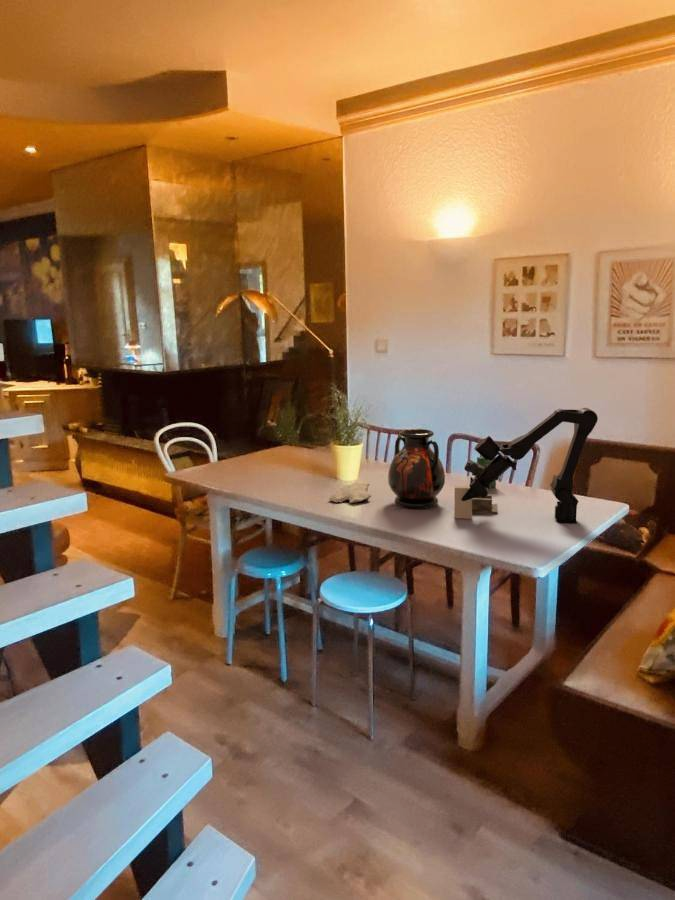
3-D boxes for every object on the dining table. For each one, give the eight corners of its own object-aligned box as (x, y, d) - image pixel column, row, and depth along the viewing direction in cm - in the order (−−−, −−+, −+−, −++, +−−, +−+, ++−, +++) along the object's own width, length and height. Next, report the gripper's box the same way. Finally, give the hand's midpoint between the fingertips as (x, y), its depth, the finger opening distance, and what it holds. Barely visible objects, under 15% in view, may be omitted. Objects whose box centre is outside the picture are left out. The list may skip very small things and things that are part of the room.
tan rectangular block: (471, 516, 236) (472, 486, 234) (471, 518, 234) (472, 488, 231) (454, 515, 238) (455, 485, 236) (454, 517, 235) (454, 487, 233)
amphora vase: (376, 505, 253) (375, 432, 247) (409, 493, 269) (409, 424, 263) (424, 515, 239) (424, 439, 233) (455, 502, 255) (456, 430, 249)
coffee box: (493, 486, 277) (493, 455, 274) (496, 487, 274) (497, 456, 271) (475, 488, 274) (476, 457, 272) (478, 489, 272) (479, 458, 269)
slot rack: (497, 506, 248) (497, 493, 248) (497, 514, 239) (497, 501, 238) (458, 504, 251) (459, 492, 250) (457, 512, 242) (458, 499, 241)
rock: (387, 496, 266) (358, 487, 276) (387, 485, 265) (358, 476, 274) (352, 512, 251) (323, 502, 261) (352, 501, 250) (323, 491, 259)
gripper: (478, 447, 239) (447, 476, 243) (478, 458, 221) (444, 489, 226) (500, 469, 239) (469, 498, 243) (502, 482, 221) (467, 512, 225)
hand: (462, 499), depth 234 cm, fingers closed on tan rectangular block, 3 cm apart
